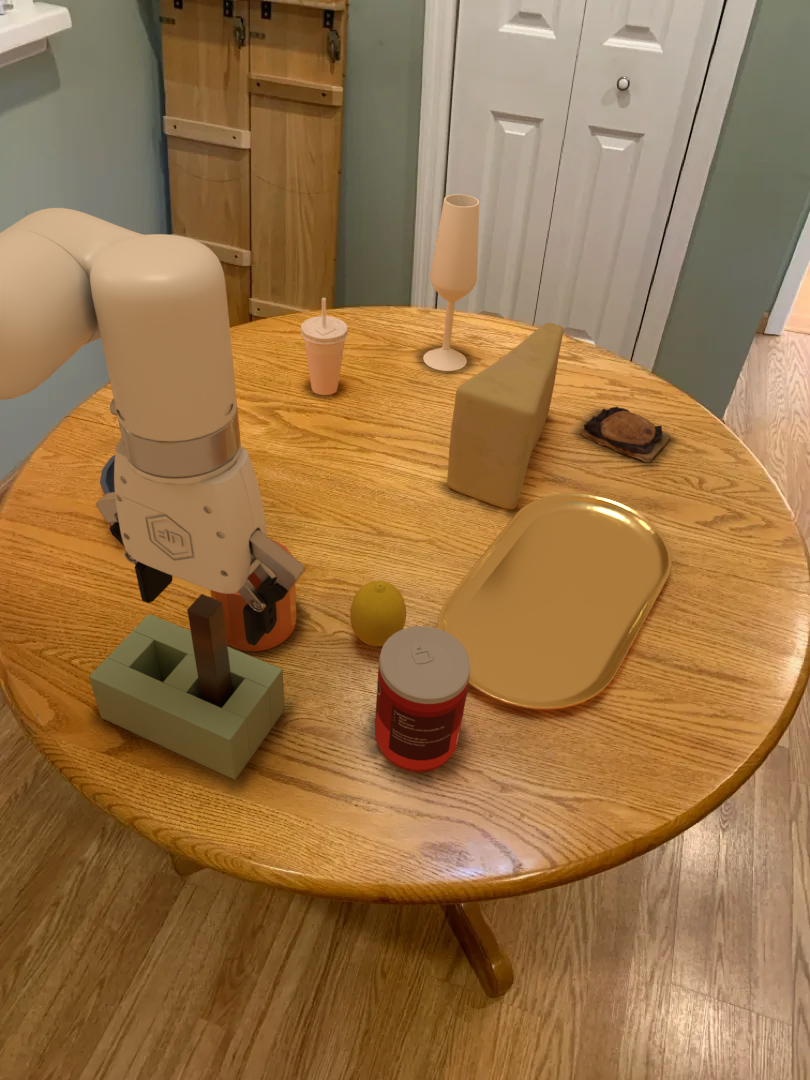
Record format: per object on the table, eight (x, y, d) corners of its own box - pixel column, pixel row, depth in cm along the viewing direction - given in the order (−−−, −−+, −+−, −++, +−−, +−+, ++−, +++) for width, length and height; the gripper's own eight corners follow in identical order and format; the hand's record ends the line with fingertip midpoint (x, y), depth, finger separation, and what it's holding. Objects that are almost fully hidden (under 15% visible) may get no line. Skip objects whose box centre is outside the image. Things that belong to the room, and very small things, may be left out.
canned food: (422, 690, 82) (432, 612, 74) (475, 748, 77) (491, 672, 70) (356, 726, 78) (360, 648, 71) (408, 790, 73) (417, 714, 66)
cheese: (509, 405, 120) (525, 308, 110) (573, 426, 117) (596, 328, 107) (441, 488, 105) (453, 384, 95) (513, 514, 102) (534, 410, 92)
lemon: (386, 670, 83) (390, 615, 78) (339, 647, 85) (339, 591, 80) (413, 634, 87) (419, 579, 82) (367, 613, 89) (369, 558, 83)
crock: (215, 654, 83) (207, 598, 78) (215, 595, 89) (208, 539, 84) (298, 648, 85) (296, 592, 79) (293, 590, 91) (291, 534, 85)
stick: (224, 738, 76) (208, 618, 66) (206, 730, 77) (186, 609, 66) (236, 722, 78) (222, 601, 67) (218, 714, 78) (201, 593, 68)
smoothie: (299, 398, 118) (296, 306, 109) (305, 374, 123) (303, 284, 114) (344, 402, 118) (346, 309, 109) (348, 378, 123) (350, 287, 114)
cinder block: (235, 780, 73) (229, 740, 69) (100, 717, 77) (88, 676, 73) (285, 709, 79) (282, 668, 75) (157, 655, 83) (148, 613, 79)
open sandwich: (672, 439, 117) (680, 417, 114) (647, 467, 111) (654, 444, 109) (603, 410, 121) (609, 388, 119) (575, 435, 116) (581, 412, 113)
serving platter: (402, 661, 84) (403, 651, 83) (545, 484, 107) (547, 474, 106) (576, 750, 78) (579, 740, 77) (689, 541, 101) (692, 531, 100)
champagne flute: (437, 374, 125) (453, 212, 109) (415, 353, 130) (427, 194, 114) (475, 365, 128) (496, 206, 112) (452, 345, 132) (469, 188, 116)
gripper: (37, 425, 55) (88, 605, 67) (264, 504, 51) (278, 684, 62) (112, 373, 61) (148, 549, 72) (325, 440, 56) (327, 617, 67)
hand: (208, 611), depth 67 cm, fingers open, 9 cm apart
